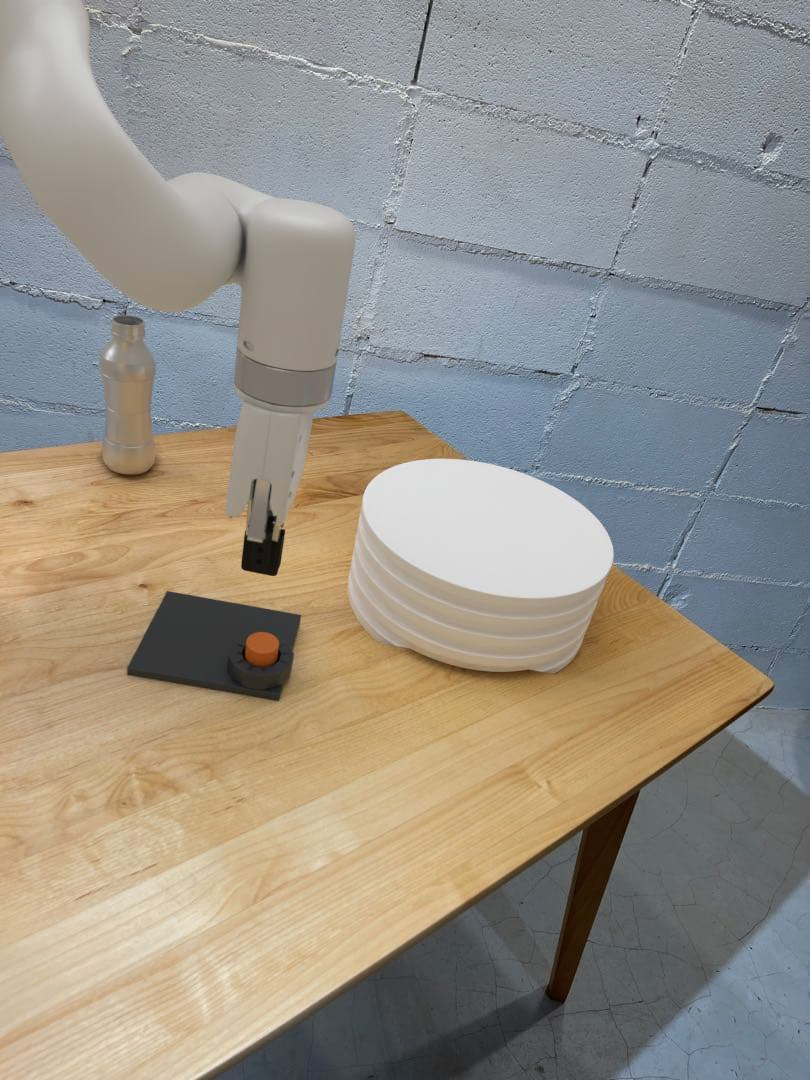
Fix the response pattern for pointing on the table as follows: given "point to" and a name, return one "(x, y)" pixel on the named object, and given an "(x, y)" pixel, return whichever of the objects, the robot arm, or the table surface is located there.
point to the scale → (214, 646)
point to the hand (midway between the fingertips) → (260, 568)
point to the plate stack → (477, 566)
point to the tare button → (261, 649)
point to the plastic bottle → (128, 397)
